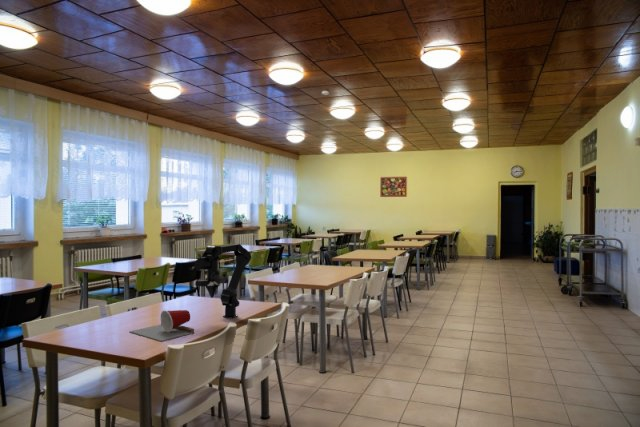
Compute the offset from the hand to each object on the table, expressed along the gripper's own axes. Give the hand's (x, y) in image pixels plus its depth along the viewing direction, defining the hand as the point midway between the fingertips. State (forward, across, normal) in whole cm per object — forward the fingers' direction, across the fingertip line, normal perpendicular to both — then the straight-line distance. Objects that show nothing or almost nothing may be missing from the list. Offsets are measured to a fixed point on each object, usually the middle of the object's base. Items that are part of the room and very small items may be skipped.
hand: (212, 297), depth 240 cm
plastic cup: (+6, -18, -3) cm, 19 cm away
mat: (+13, -31, +1) cm, 34 cm away
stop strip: (+13, -22, +1) cm, 25 cm away
